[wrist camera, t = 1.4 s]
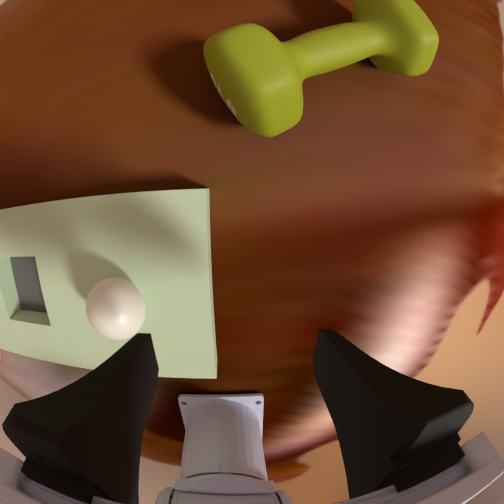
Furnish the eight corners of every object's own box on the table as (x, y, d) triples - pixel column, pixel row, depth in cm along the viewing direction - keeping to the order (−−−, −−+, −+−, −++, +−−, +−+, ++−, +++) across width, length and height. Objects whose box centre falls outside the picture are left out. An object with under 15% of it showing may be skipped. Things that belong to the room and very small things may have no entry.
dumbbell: (250, 153, 18) (262, 135, 11) (196, 67, 16) (182, 17, 9) (410, 82, 18) (462, 60, 11) (363, 13, 16) (400, -25, 9)
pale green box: (217, 360, 22) (214, 454, 12) (11, 338, 20) (-37, 385, 10) (209, 188, 19) (188, 192, 9) (-16, 212, 17) (-85, 232, 7)
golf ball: (155, 323, 18) (141, 354, 14) (106, 320, 18) (84, 349, 14) (148, 269, 17) (128, 291, 13) (96, 269, 17) (68, 290, 13)
